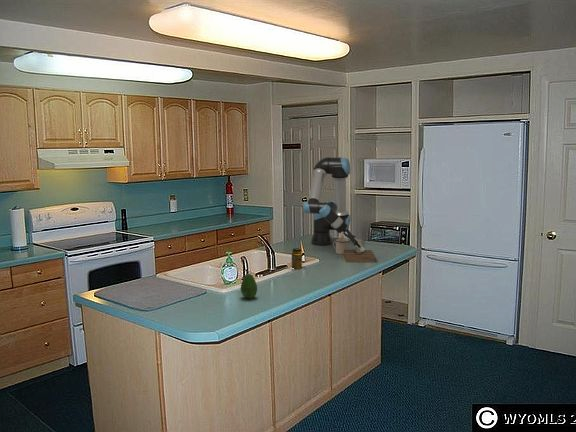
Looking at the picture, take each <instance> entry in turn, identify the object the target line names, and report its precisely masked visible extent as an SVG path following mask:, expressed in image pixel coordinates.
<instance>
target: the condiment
mask: <svg viewBox="0 0 576 432" xmlns="http://www.w3.org/2000/svg"><path fill="white" fill-rule="evenodd" d="M302 265H303V253H302V249H301V248H300V247H293V248H292V253H291V267H292V268H294V269H295V270H291V271H299V270H305V268H303V267H302Z"/></svg>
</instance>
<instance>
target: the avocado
mask: <svg viewBox="0 0 576 432" xmlns="http://www.w3.org/2000/svg"><path fill="white" fill-rule="evenodd" d="M240 293H241V295H242V296H243V297H244V298H246V299H253V298H254V297H255V298H256V295H257V293H258V284H257V282H256V280H255V278H254V275H253V274H251V273H247V274H245V275H244V276H243V278H242V281H241V284H240Z"/></svg>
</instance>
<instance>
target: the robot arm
mask: <svg viewBox="0 0 576 432" xmlns="http://www.w3.org/2000/svg"><path fill="white" fill-rule="evenodd" d="M350 174H351V163H350V160H349V158H347V157H341V156H340V157H334V156H333V157H329V156H328V157H324V158H321V159H320V160H318V162H316V164H315V165H314V167H313V170H312V181H311V185H310V189H309V190H310V191H309V195H308V198H307V201H305V202H303V204H302V205H303V206H302V211H303V213H305V214H311V215H312V214H314V215H313V216H314V217H313V234H312V237H311V239H310V240H311V241H310V243H311V244H312V245H314V246H329V245H330V246H331V245H333V241H332V237H331V234H330V231H335V232H337V233H338V234H343V236H344V237H345V238H346V239H348V240H349V241H350V242H351V243H352V244H353V246H354V247H357V248H358V249H359V250H360V251H361V252H363V251H364V250H366V248H365V247H364V246H363V244H362V245H361V244H360V243H359V242H358V241H356V239H357V238H356V235H353V233H351V231H350V230H349V228H350V224H351V218H352V217H351V216H352V215H351V214H349V211H348V210H347V179H348V177H349V175H350ZM327 175H331V178H332V179H333V195H334V196H333V200H330V201H328V202H323V201H322V202H321V201H320V200H321V196H322V190H323V186H324V185H323V184H324V180H325V177H326V176H327Z"/></svg>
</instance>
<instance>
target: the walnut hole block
mask: <svg viewBox="0 0 576 432" xmlns="http://www.w3.org/2000/svg"><path fill="white" fill-rule="evenodd" d="M343 259H344V261H345V263H375V262H376V260H375V259H376V255H375V253H374V252H373V250H372V249H365V250H364V251H363V252H362V253H356V249H349V250H344V254H343Z"/></svg>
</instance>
